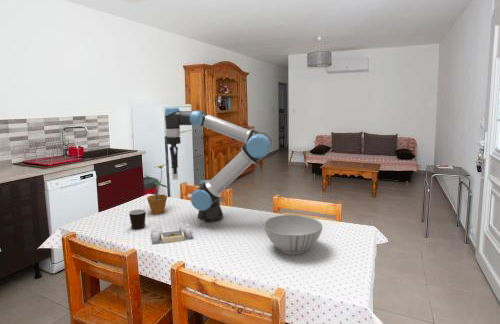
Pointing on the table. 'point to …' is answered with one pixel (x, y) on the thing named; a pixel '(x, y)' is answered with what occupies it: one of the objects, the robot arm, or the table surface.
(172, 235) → the nut
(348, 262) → the table surface
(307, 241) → the decorative bowl
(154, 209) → the potted plant
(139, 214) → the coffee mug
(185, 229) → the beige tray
